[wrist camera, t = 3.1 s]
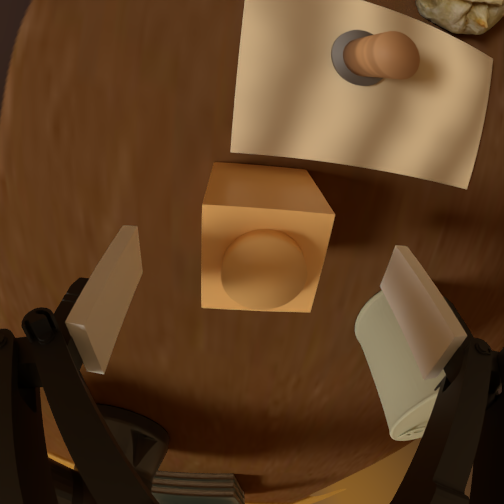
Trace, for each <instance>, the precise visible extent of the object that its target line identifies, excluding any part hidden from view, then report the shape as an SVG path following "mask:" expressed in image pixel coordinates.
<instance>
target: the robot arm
mask: <svg viewBox="0 0 504 504" xmlns="http://www.w3.org/2000/svg"><path fill="white" fill-rule="evenodd" d="M142 273H143V270H142V262H141V254H140V245H139V236H138V226H126V225H123V226H122V228H121V229H120V231H119V232H118V234H117V235H116V237H115V238H114V240H113V241H112V243H111V244H110V246H109V248H108V249H107V251H106V252H105V254H104V255H103V257H102V259H101V260H100V262H99V263H98V265H97V267H96V268H95V270H94V272H93V273H92V275H91V277H90V278H79V279H78V280H76V281H75V282H74V283H73V284H72V285H71V286H70V288H69V289H68V291H67V293H66V294H65V296H64V298H63V299H62V301H61V303H60V304H59V306H58V308H57V309H56V311H55V313H54V314H53V313H52V311H51V310H50V309H48V308H41V307H40V308H36V309H33V310H32V311H30V312H28V313H27V314H26V315H25V316H24V318H23V320H22V328H23V330H24V332H25V334H26V336H27V337H20V338H15V337H14V335H13V333H12V332H11V331H10V330H8V329H0V504H159V502H158V501H157V500H156V498H155V497H154V496H153V494H152V493H151V490H152V482H153V478H154V476H155V474H156V472H157V470H158V468H159V466H160V464H161V463H162V461H163V459H164V457H165V455H166V453H167V451H168V445H169V435H168V433H167V432H166V431H165V430H164V429H163V428H162V427H161V426H160V425H158V424H157V423H155V422H153V421H151V420H149V419H147V418H145V417H143V416H141V415H138V414H136V413H133V412H130V411H127V410H124V409H120V408H116V407H112V406H107V405H99V404H96V403H95V401H94V399H93V397H92V395H91V393H90V391H89V389H88V387H87V385H86V383H85V381H84V379H83V376H82V374H81V372H80V368H81V366H82V363H83V364H84V366H85V368H86V370H87V371H89V372H94V373H99V374H104V373H105V370H106V367H107V364H108V361H109V359H110V356H111V353H112V350H113V347H114V344H115V342H116V339H117V336H118V333H119V331H120V328H121V325H122V323H123V320H124V317H125V315H126V312H127V310H128V307H129V305H130V302H131V300H132V297H133V295H134V292H135V290H136V287H137V285H138V282H139V280H140V278H141V275H142ZM380 287H381V289H382V291H383V293H384V295H385V297H386V299H387V301H388V303H389V305H390V307H391V309H392V311H393V313H394V315H395V317H396V319H397V321H398V324H399V326H400V328H401V330H402V332H403V334H404V336H405V338H406V341H407V343H408V345H409V347H410V349H411V352H412V354H413V356H414V358H415V361H416V363H417V365H418V367H419V370H420V372H421V375H422V377H423V379H424V380H426V379H432V378H437V376H438V375H439V374H440V373H441V371H442V370H443V369H444V372H445V374H446V375H445V376H444V378H443V379H442V380H441V381H440V383H439V384H438V385H437V386H436V387H435V389H434V390H435V391H436V390H437V389H438V388H439V387H440V389H439V392H438V395H437V398H436V401H435V404H434V407H433V410H432V413H431V415H430V418H429V421H428V423H427V426H426V429H425V431H424V434H423V436H422V439H421V441H420V444H419V446H418V449H417V451H416V453H415V455H414V458H413V460H412V462H411V464H410V466H409V468H408V470H407V473H406V475H405V477H404V479H403V481H402V483H401V484H400V486H399V488H398V490H397V492H396V494H395V496H394V498H393V500H392V501H391V502H390V504H504V347H503V349H502V350H501V351H500V352H497V351H492V350H491V348H490V346H489V345H488V344H487V343H486V342H485V341H483V340H481V339H479V338H474V337H473V335H472V334H471V332H470V330H469V329H468V327H467V325H466V324H465V322H464V321H463V319H461V316H460V314H459V313H457V310H456V308H455V307H454V305H453V304H452V303H451V302H450V301H449V300H448V299H447V298H446V297H443V296H442V295H441V293H440V292H439V290H438V289H437V287H436V286H435V284H434V283H433V281H432V280H431V278H430V277H429V276H428V274H427V273H426V271H425V270H424V269H423V267H422V266H421V264H420V263H419V262H418V260H417V259H416V258H415V256H414V255H413V254H412V252H411V251H410V250H409V248H408V247H407V246H399V245H395V248H394V251H393V253H392V256H391V259H390V262H389V264H388V267H387V269H386V272H385V275H384V277H383V280H382V282H381V285H380ZM501 386H502V392H501V394H498V389H500V387H501ZM40 387H43V388H44V391H45V394H46V397H47V400H48V403H49V405H50V408H51V411H52V413H53V416H54V418H55V421H56V423H57V426H58V428H59V430H60V433H61V435H62V437H63V440H64V442H65V444H66V446H67V448H68V451H69V453H70V455H71V457H72V459H73V461H74V463H75V466H74V470H73V469H71V468H68V467H66V466H64V465H62V464H60V463H58V462H56V461H54V460H52V459H50V458H49V457H48V455H47V449H46V443H45V436H44V428H43V420H42V411H41V399H40ZM473 462H474V463H473ZM472 465H473V475H472V484H471V492H470V499H469V497H468V496H466V495H465V494H464V491H465V487H466V484H467V481H468V478H469V475H470V472H471V468H472Z"/></svg>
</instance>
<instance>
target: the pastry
mask: <svg viewBox="0 0 504 504" xmlns="http://www.w3.org/2000/svg"><path fill="white" fill-rule="evenodd" d="M415 4H416V6H417V7H418V11H419V13H420V14H421V15H422V16H423V17H424V18H426V19H428V20H431V22H433V23H436V24H437V25H438V26H440V27H442V28H444V29H446V30H448V31H450V32H451V33H455V34H474V35H480V34H483V33H485V32H486V31H488V30H489V29H490V28H492V27H493V26H494V25H495V24H496V23H497V22H498V21H499V20H500V19H501V18H502V17H503V16H504V0H415Z"/></svg>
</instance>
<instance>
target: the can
mask: <svg viewBox="0 0 504 504" xmlns="http://www.w3.org/2000/svg"><path fill="white" fill-rule="evenodd" d="M355 334H356V337H357V339H358V341H359V342H360V344H361V346H362V349H363V351H364V354H365V357H366V359H367V362H368V365H369V367H370V370H371V373H372V376H373V379H374V382H375V385H376V388H377V391H378V394H379V397H380V400H381V403H382V406H383V410H384V413H385V416H386V420H387V423H388V427H389V431H390V436H391V438H392V439H394V440H398V441H407V440H413V439H417V438H420V437H422V436H423V434H424V431H425V429H426V426H427V423H428V421H429V418H430V415H431V413H432V410H433V407H434V404H435V401H436V398H437V395H438V392H439V389H440V387H439V388H438V389H437V390H436V391H435V390H434V389H435V387H436V386H437V385H438V384H439V383H440V381H441V380H442V379H443V378H444V376H445V375H446V374H445V372H444V369H443V370H442V371H441V373H440V374H439V375H438V376H437V378H432V379H426V380H424V379H423V377H422V375H421V372H420V370H419V367H418V365H417V363H416V361H415V358H414V356H413V354H412V352H411V349H410V347H409V345H408V343H407V341H406V338H405V336H404V334H403V332H402V330H401V328H400V326H399V324H398V321H397V319H396V317H395V315H394V313H393V311H392V309H391V307H390V305H389V303H388V301H387V299H386V297H385V295H384V293H383V291H382V290H381V291H380V292H378V293H377V294H376V295H374V296H373V297H372V298H371V299H370V300H369V301H368V302H367V303H366V304H365V306H364V307H363V308H362V310H361V311H360V313H359V315H358V317H357V320H356V323H355Z"/></svg>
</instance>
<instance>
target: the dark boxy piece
mask: <svg viewBox="0 0 504 504" xmlns="http://www.w3.org/2000/svg"><path fill="white" fill-rule="evenodd" d="M151 493H152V494H153V496H154V497H155V498H156V500H157V501H158V502H159V504H245V503H244V491H243V490H242V489H241V487H240V485H239V483H238V481H237V479H236V478H235V476H234V474H205V473H181V472H167V471H157V472H156V474H155V476H154V478H153V482H152V490H151Z"/></svg>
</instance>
